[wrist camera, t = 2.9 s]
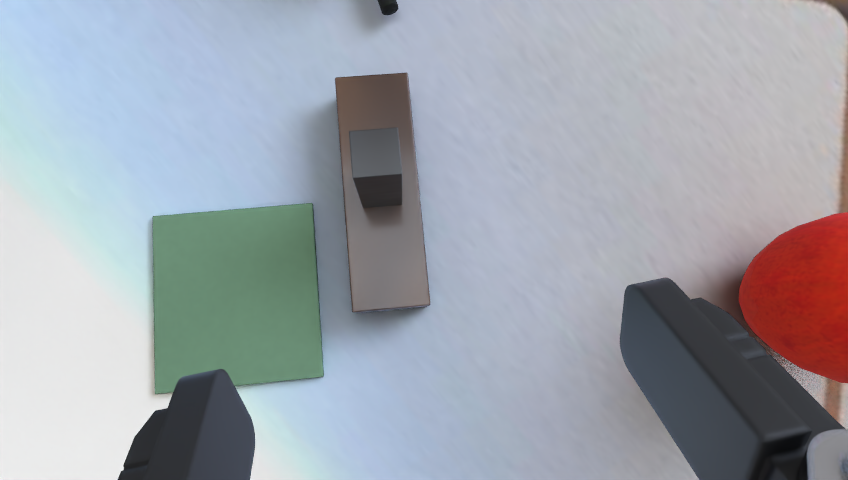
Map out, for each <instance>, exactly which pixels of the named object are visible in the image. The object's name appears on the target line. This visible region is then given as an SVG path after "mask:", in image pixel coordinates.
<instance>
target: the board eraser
mask: <svg viewBox="0 0 848 480" xmlns="http://www.w3.org/2000/svg"><path fill="white" fill-rule="evenodd" d="M335 84H336V98H337V112H338V125H339V139H340V152H341V166H342V180H343V193H344V207H345V221H346V234H347V248H348V262H349V275H350V289H351V302H352V312H354V313H365V312H375V311H386V310H396V309H406V308H417V307H427V306H429V305H430V296H429V286H428V276H427V265H426V255H425V245H424V234H423V224H422V214H421V204H420V193H419V183H418V173H417V163H416V152H415V142H414V132H413V122H412V111H411V101H410V91H409V81H408V73H396V74H382V75H367V76H353V77H338V78H335Z"/></svg>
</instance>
